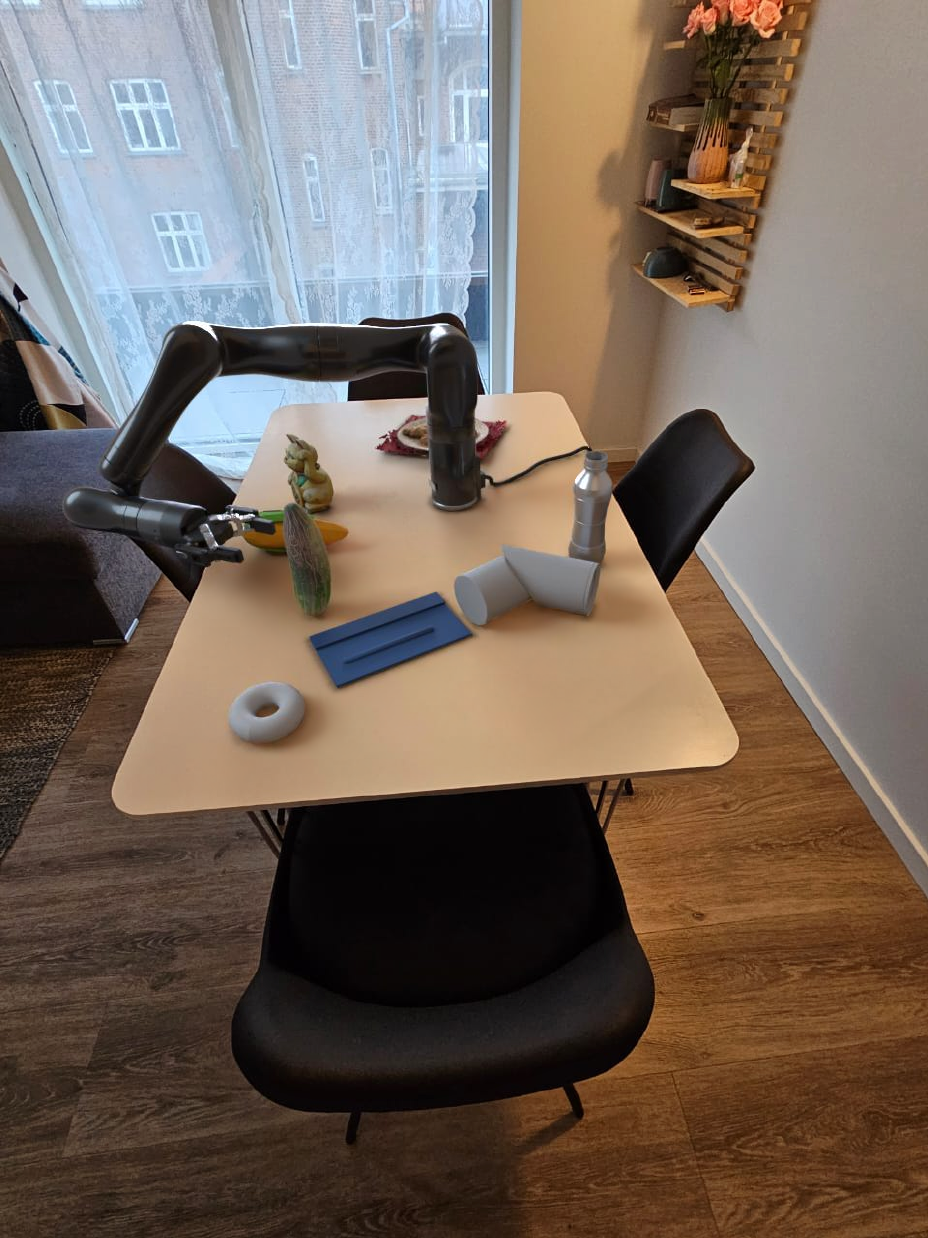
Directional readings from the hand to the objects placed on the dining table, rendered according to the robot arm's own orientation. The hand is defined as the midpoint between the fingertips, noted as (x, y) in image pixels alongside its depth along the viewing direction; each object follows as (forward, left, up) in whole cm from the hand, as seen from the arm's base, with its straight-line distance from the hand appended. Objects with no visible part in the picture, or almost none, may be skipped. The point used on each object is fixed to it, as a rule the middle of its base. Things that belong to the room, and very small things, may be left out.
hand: (258, 542), depth 101 cm
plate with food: (-54, -42, -12) cm, 69 cm away
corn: (-9, -14, -12) cm, 21 cm away
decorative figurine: (-17, -28, -12) cm, 35 cm away
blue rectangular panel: (-13, +19, -12) cm, 26 cm away
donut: (+8, +26, -12) cm, 30 cm away
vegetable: (-6, +7, -12) cm, 15 cm away
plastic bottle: (-51, +18, -12) cm, 55 cm away
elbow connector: (-36, +24, -12) cm, 45 cm away
